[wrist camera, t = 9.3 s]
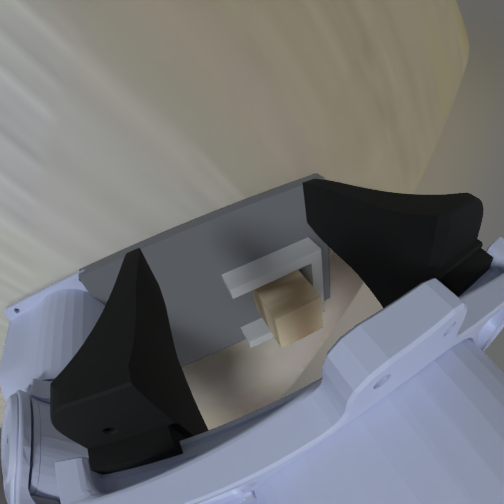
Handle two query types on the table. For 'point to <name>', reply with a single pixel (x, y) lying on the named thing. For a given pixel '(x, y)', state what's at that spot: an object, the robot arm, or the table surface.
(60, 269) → the table surface
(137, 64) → the table surface
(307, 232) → the holder board
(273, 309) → the connector block
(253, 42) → the table surface
